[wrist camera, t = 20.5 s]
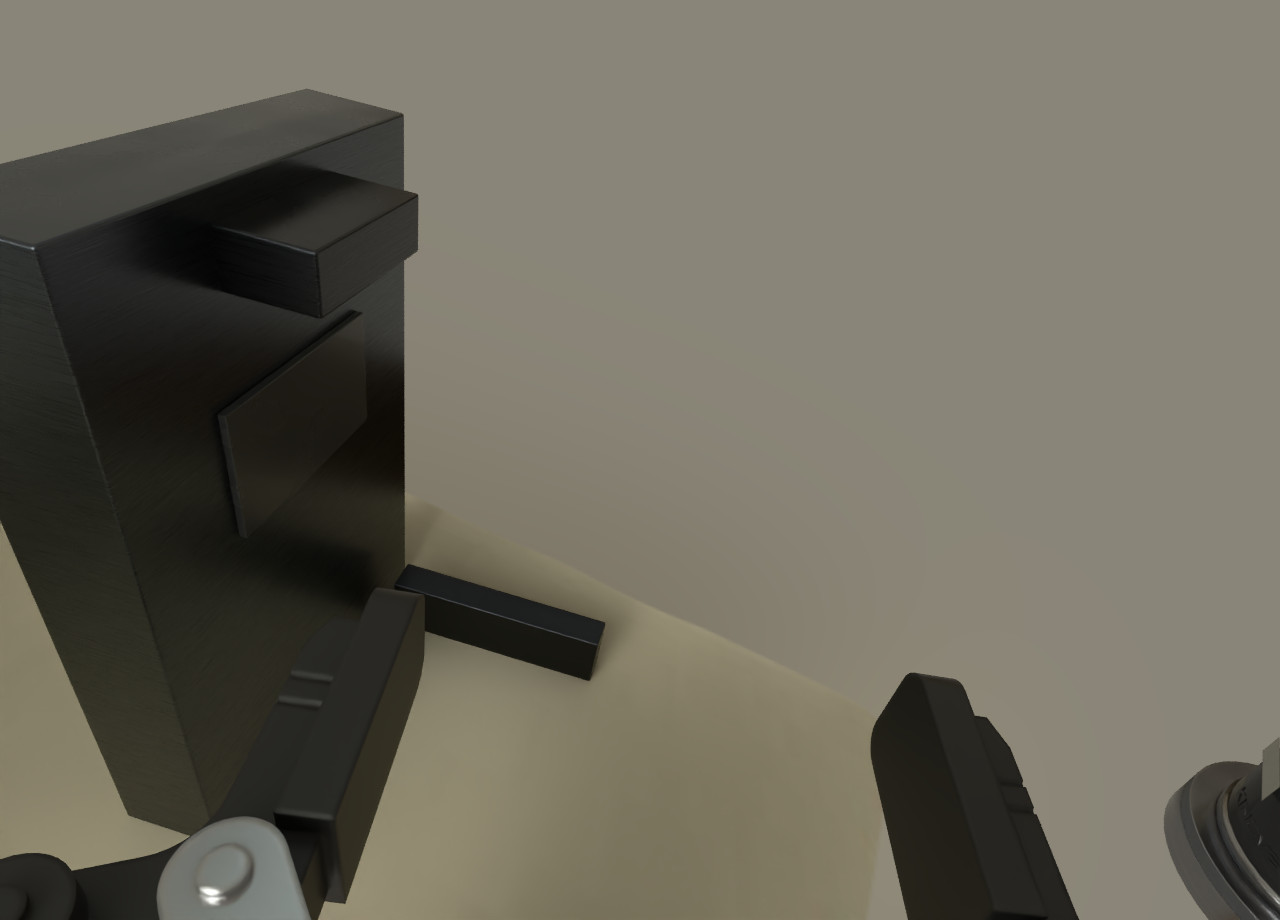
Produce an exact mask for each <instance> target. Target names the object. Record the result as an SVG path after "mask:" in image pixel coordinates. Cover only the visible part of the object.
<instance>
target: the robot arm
mask: <svg viewBox="0 0 1280 920" xmlns="http://www.w3.org/2000/svg"><path fill="white" fill-rule="evenodd" d="M424 637H425V597H424V595H423V594H417V593H411V592H404V591H398V590H391V589H385V588H376V589H375V590H374V591H373V592H372V594H371V596H370V598H369V600H368V602H367V604H366V607H365V609H364V611H363V613H362V615H361V618H360V620H355V619H349V618H342V617H336V616H334V617H333V618H331V619H330V620H329V621H328V622H327V623H326V624H325V625H324V626H322V627H321V628H320V629H319V630H318V631H317V632H316V633H315V634H314V635H312V636H311V637H310V638H309V639H308V640H307V641H306V643H305V645H304V647H303V649H302V651H301V653H300V655H299V657H298V658H297V660H296V662H295V664H294V666H293V668H292V670H291V674H290V677H289V678H287V680H286V682H285V684H284V686H283V688H282V690H281V692H280V694H279V695H278V700H277V702H276V703H274V705H273V707H272V709H271V711H270V713H269V715H268V717H267V719H266V721H265V723H264V725H263V727H262V729H261V731H260V733H259V734H258V736H257V738H256V740H255V742H254V744H253V746H252V748H251V750H250V752H249V754H248V756H247V758H246V760H245V762H244V764H243V766H242V768H241V770H240V771H239V773H238V775H237V777H236V779H235V781H234V783H233V785H232V787H231V789H230V791H229V793H228V795H227V797H226V799H225V800H224V802H223V803H222V805H221V807H220V808H219V809H218V811H217V812H216V813H215V815H214V816H213V817H212V818H211V819H210V820H209V821H208V822H207V823H206V824H205V825H204V826H203V827H202V828H201V829H199V830H198V831H197V832H196V833H194V834H193V835H192V836H190V837H189V838H187V839H186V840H184V841H182V842H181V843H179V844H177V845H175V846H173V847H171V848H169V849H167V850H164V851H161V852H159V853H156V854H152V855H149V856H145V857H140V858H135V859H130V860H125V861H120V862H115V863H110V864H105V865H99V866H94V867H89V868H84V869H79V870H74V871H72V870H71V869H70V868H69V867H68V866H67V864H66V863H64V862H63V861H62V860H60V859H59V858H56V857H54V856H51V855H48V854H41V853H25V854H19V855H13V856H10V857H7V858H3V859H0V920H318V918H319V915H320V912H321V909H322V907H323V904H324V901H327V902H335V903H343V904H345V903H346V900H347V897H348V894H349V891H350V888H351V885H352V882H353V879H354V876H355V873H356V870H357V867H358V864H359V861H360V858H361V855H362V852H363V849H364V846H365V843H366V840H367V838H368V835H369V832H370V829H371V826H372V823H373V820H374V817H375V814H376V811H377V808H378V805H379V802H380V799H381V796H382V793H383V790H384V787H385V784H386V781H387V778H388V775H389V772H390V769H391V766H392V763H393V760H394V757H395V755H396V752H397V749H398V746H399V743H400V740H401V737H402V734H403V731H404V728H405V725H406V722H407V719H408V716H409V713H410V710H411V707H412V704H413V701H414V698H415V695H416V692H417V689H418V685H419V681H420V677H421V673H422V667H423V661H424ZM871 760H872V765H873V769H874V773H875V778H876V782H877V787H878V791H879V795H880V800H881V804H882V808H883V813H884V817H885V821H886V826H887V830H888V835H889V839H890V843H891V847H892V851H893V856H894V861H895V865H896V869H897V874H898V878H899V882H900V887H901V891H902V896H903V900H904V904H905V909H906V913H907V917H908V920H1079V918H1078V916H1077V914H1076V912H1075V909H1074V907H1073V904H1072V902H1071V900H1070V897H1069V894H1068V892H1067V889H1066V887H1065V884H1064V882H1063V879H1062V877H1061V874H1060V872H1059V869H1058V867H1057V864H1056V862H1055V859H1054V857H1053V854H1052V852H1051V849H1050V847H1049V844H1048V842H1047V840H1046V837H1045V834H1044V832H1043V829H1042V827H1041V824H1040V822H1039V819H1038V817H1037V815H1036V814H1034V813H1033V808H1034V807H1033V804H1032V802H1031V799H1030V797H1029V794H1028V792H1027V789H1026V787H1023V785H1022V782H1023V779H1022V777H1021V774H1020V772H1019V769H1018V767H1017V764H1016V762H1015V759H1014V757H1013V754H1012V752H1011V749H1010V747H1009V746H1008V745H1007V743H1006V742H1005V741H1004V739H1003V738H1002V737H1001V735H1000V734H999V733H998V732H997V730H996V729H995V728H994V726H993V725H992V724H991V723H990V721H989V720H988V719H987V718H986V717H980V716H974V713H973V710H972V707H971V705H970V702H969V699H968V697H967V694H966V691H965V689H964V687H963V686H962V684H961V683H960V682H959V681H957V680H955V679H950V678H944V677H938V676H931V675H925V674H918V673H909V674H908V675H906V676H905V678H904V679H903V681H902V682H901V684H900V685H899V687H898V688H897V690H896V692H895V693H894V695H893V696H892V698H891V699H890V701H889V702H888V704H887V706H886V707H885V709H884V710H883V712H882V714H881V715H880V716H879V718H878V720H877V721H876V723H875V725H874V728H873V731H872V736H871ZM1217 820H1218V825H1219V829H1220V832H1221V835H1222V837H1223V840H1224V842H1225V844H1226V846H1227V848H1228V850H1229V852H1230V854H1231V856H1232V857H1233V859H1234V861H1235V862H1236V864H1237V865H1238V867H1239V869H1240V870H1241V871H1242V873H1243V874H1244V876H1245V877H1246V878H1247V880H1248V881H1249V882H1250V883H1251V885H1252V886H1253V887H1254V888H1255V890H1256V891H1257V892H1258V893H1259V894H1260V895H1261V896H1262V897H1263V899H1264V900H1265V901H1266V902H1267V903H1268V904H1269V905H1270V906H1271V907H1272V908H1273V909H1274V910H1275V911H1276V912H1277V913H1278V914H1279V915H1280V738H1278V739H1276V740H1275V741H1274V742H1273V743H1272V744H1271V745H1269V746H1268V747H1267V748H1266V749H1264V750H1263V762H1262V763H1260V764H1259V765H1258V766H1257V767H1256V768H1254V769H1253V770H1252V771H1251V772H1249V773H1248V774H1247V775H1246V776H1244V777H1243V778H1240V779H1238V780H1236V781H1235V782H1233V783H1232V784H1231V785H1230V786H1228V787H1227V788H1226V789H1225V790H1224V791H1223V792H1222V793H1221V795H1220V797H1219V799H1218V803H1217Z"/></svg>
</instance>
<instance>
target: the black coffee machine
mask: <svg viewBox="0 0 1280 920" xmlns="http://www.w3.org/2000/svg"><path fill="white" fill-rule="evenodd" d="M417 250H418V194H416V193H412V192H408V191H404V115H403V114H402V113H399V112H395V111H391V110H387V109H383V108H380V107H376V106H372V105H368V104H364V103H360V102H356V101H352V100H348V99H344V98H341V97H337V96H333V95H329V94H325V93H321V92H317V91H314V90H310V89H304V90H300V91H296V92H292V93H288V94H284V95H280V96H275V97H271V98H268V99H263V100H259V101H256V102H251V103H247V104H243V105H239V106H235V107H231V108H227V109H223V110H218V111H214V112H211V113H206V114H202V115H198V116H194V117H190V118H186V119H182V120H178V121H174V122H170V123H166V124H161V125H158V126H154V127H149V128H145V129H141V130H137V131H133V132H129V133H125V134H121V135H117V136H113V137H109V138H105V139H100V140H96V141H93V142H88V143H84V144H80V145H76V146H72V147H68V148H64V149H60V150H56V151H52V152H48V153H43V154H40V155H36V156H31V157H27V158H24V159H19V160H15V161H11V162H7V163H3V164H0V521H1V524H2V526H3V528H4V530H5V533H6V535H7V537H8V540H9V542H10V544H11V547H12V549H13V551H14V553H15V556H16V558H17V560H18V563H19V565H20V567H21V570H22V572H23V574H24V576H25V579H26V581H27V583H28V586H29V588H30V590H31V593H32V595H33V597H34V599H35V602H36V604H37V606H38V609H39V611H40V613H41V616H42V618H43V620H44V622H45V625H46V627H47V629H48V632H49V634H50V636H51V639H52V641H53V643H54V645H55V648H56V650H57V652H58V655H59V657H60V659H61V662H62V664H63V666H64V668H65V671H66V673H67V675H68V678H69V680H70V682H71V685H72V687H73V689H74V691H75V694H76V696H77V698H78V701H79V703H80V705H81V708H82V710H83V712H84V714H85V717H86V719H87V721H88V724H89V726H90V728H91V731H92V733H93V735H94V737H95V740H96V742H97V744H98V747H99V749H100V751H101V754H102V756H103V758H104V760H105V763H106V765H107V767H108V770H109V772H110V774H111V777H112V779H113V781H114V783H115V786H116V788H117V790H118V793H119V795H120V797H121V800H122V802H123V804H124V806H125V809H126V811H127V813H128V815H129V816H132V817H135V818H138V819H141V820H144V821H147V822H150V823H153V824H156V825H159V826H162V827H165V828H168V829H171V830H174V831H178V832H181V833H184V834H187V835H190V836H192V835H193V834H194V833H196V832H197V831H198V830H199V829H201V828H202V827H203V826H204V825H205V824H206V823H207V822H208V821H209V820H210V819H211V818H212V817H213V816H214V815H215V813H216V812H217V811H218V809H219V808H220V807H221V805H222V803H223V802H224V800H225V799H226V797H227V795H228V793H229V791H230V789H231V787H232V785H233V783H234V781H235V779H236V777H237V775H238V773H239V771H240V770H241V768H242V766H243V764H244V762H245V760H246V758H247V756H248V754H249V752H250V750H251V748H252V746H253V744H254V742H255V740H256V738H257V736H258V734H259V733H260V731H261V729H262V727H263V725H264V723H265V721H266V719H267V717H268V715H269V713H270V711H271V709H272V707H273V705H274V703H276V702H277V700H278V695H279V694H280V692H281V690H282V688H283V686H284V684H285V682H286V680H287V678H289V677H290V674H291V670H292V668H293V666H294V664H295V662H296V660H297V658H298V657H299V655H300V653H301V651H302V649H303V647H304V645H305V643H306V641H307V640H308V639H309V638H310V637H311V636H312V635H314V634H315V633H316V632H317V631H318V630H319V629H320V628H321V627H322V626H324V625H325V624H326V623H327V622H328V621H329V620H330V619H331V618H333V617H334V616H336V617H342V618H349V619H355V620H360V618H361V615H362V613H363V611H364V609H365V607H366V604H367V602H368V600H369V598H370V596H371V594H372V592H373V591H374V590H375V589H376V588H385V589H391V590H398V591H404V592H411V593H417V594H423V595H424V597H425V631H426V632H430V633H433V634H436V635H439V636H443V637H446V638H449V639H453V640H456V641H459V642H462V643H466V644H469V645H472V646H476V647H479V648H482V649H486V650H489V651H492V652H495V653H499V654H502V655H505V656H509V657H512V658H515V659H518V660H522V661H525V662H528V663H532V664H535V665H538V666H541V667H545V668H548V669H551V670H555V671H558V672H561V673H564V674H568V675H571V676H574V677H578V678H581V679H584V680H587V681H589V680H590V678H591V675H592V672H593V669H594V666H595V663H596V660H597V657H598V653H599V648H600V644H601V640H602V636H603V632H604V628H605V622H602V621H598V620H595V619H591V618H588V617H585V616H581V615H578V614H575V613H571V612H568V611H565V610H561V609H558V608H555V607H551V606H548V605H545V604H541V603H538V602H535V601H531V600H528V599H524V598H521V597H518V596H514V595H511V594H508V593H504V592H501V591H498V590H494V589H491V588H488V587H484V586H481V585H478V584H474V583H471V582H467V581H464V580H461V579H457V578H454V577H451V576H447V575H444V574H441V573H437V572H434V571H431V570H427V569H424V568H421V567H417V566H414V565H411V564H408V565H407V566H406V568H405V490H404V489H405V485H404V484H405V483H404V482H405V478H404V477H405V476H404V473H405V472H404V471H405V470H404V469H405V467H404V466H405V463H404V461H405V460H404V260H406V259H407V258H409V257H410V256H411V255H413V254H414V253H416V252H417Z"/></svg>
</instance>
